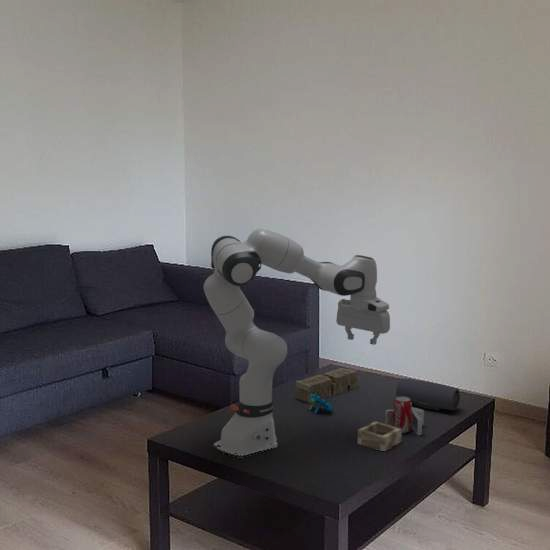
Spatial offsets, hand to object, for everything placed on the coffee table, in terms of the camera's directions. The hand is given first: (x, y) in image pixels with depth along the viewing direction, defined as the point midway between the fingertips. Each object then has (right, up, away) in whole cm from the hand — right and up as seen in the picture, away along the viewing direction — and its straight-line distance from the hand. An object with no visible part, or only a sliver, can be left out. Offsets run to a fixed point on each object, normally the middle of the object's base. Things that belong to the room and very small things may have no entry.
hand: (361, 341), depth 251 cm
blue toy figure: (-12, -29, +25) cm, 40 cm away
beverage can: (+15, -32, +6) cm, 36 cm away
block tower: (-9, -26, +46) cm, 53 cm away
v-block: (+18, -32, +9) cm, 37 cm away
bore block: (+5, -34, -5) cm, 35 cm away
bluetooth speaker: (+29, -28, +30) cm, 50 cm away
